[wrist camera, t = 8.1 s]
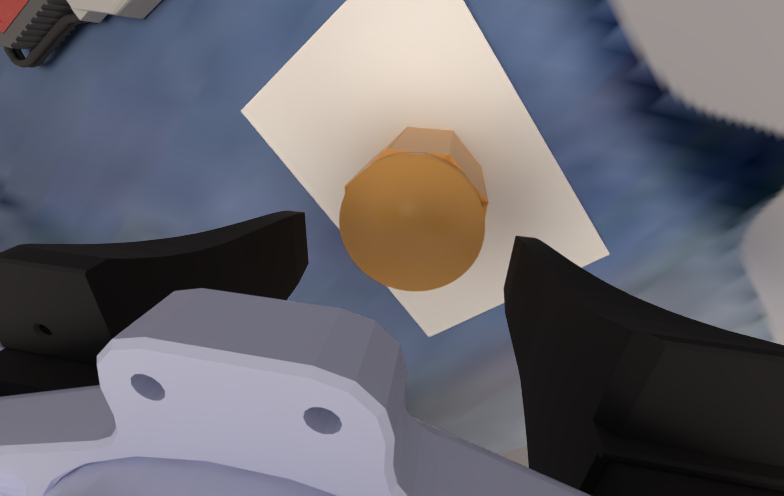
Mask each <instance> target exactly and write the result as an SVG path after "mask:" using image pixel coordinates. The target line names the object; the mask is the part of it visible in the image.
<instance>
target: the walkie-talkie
mask: <svg viewBox="0 0 784 496" xmlns="http://www.w3.org/2000/svg"><path fill="white" fill-rule="evenodd" d="M161 1H162V0H0V45H1V46H4V50H5V52H6V53H7V55H8V56H9V58H10V60H11V61H12V62H13V63H14V64H15V65H18V66H20V67H36V66H39V65H41V63H42V62H43V61H44V60H45V59H46V58H47V57H48V56H49V54H50V53H51V52H52V51H56V49H55V48H56V47H57V46H60V45H61V44H60V42H61V41H65V40H66V39H65V37H66V35H70V34H71V33H70V31H71V30H74V29H75V26H76V25H77V24H80V23H87V22H95V23H100V22H101V21H102V20H103V19H104V18H105V17H106V16H107V15H108V14H109V15H117V16H124V17H131V18H138V19H144V18H145V17H146V16H147V15H148V14H149V13H150V12H151V11H152V10H153V9H154V8H155V7H156V6H157V5H158V4H159V3H160V2H161ZM21 49H33V50H32V52H31V53H30V54H29V55H28V56H27V57H26V58H25V57H24V55H23V53H22V51H21Z"/></svg>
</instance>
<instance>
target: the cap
mask: <svg viewBox="0 0 784 496" xmlns="http://www.w3.org/2000/svg"><path fill="white" fill-rule="evenodd" d="M344 188H345V195H344V198H343V201H342V203H341V208H340V213H339V227H340V233H341V238H342V241H343V243H344V246H345V248H346V250H347V252H348V254H349V256H350V257H351V259H352V260H353V261H354V263H355V264H356V265H357V266H358V267H359V268H360V269H361V270H362V271H363V272H364V273H365V274H367V275H368V276H369V277H371V278H372V279H374V280H375V281H377V282H379V283H381V284H383V285H386V286H388V287H391V288H394V289H398V290H403V291H413V292H414V291H428V290H433V289H437V288H440V287H443V286H445V285H448V284H450V283H451V282H453V281H455V280H457V279H458V278H459V277H461V276H462V275H463V274H464V273H465V272H466V271H467V270H468V269H469V268H470V267H471V266H472V265H473V263H474V262H475V260H476V259H477V257H478V256H479V253H480V250H481V248H482V245H483V241H484V235H485V217H486V211H487V206H488V204H489V202H488V197H487V192H486V188H485V183H484V178H483V173H482V169H481V165H479V163H478V162H477V161H476V159H475V158H474V157H473V156H472V154H471V153H470V152H469V150H468V149H467V148H466V147H465V145H464V144H463V143H462V141H461V140H460V139H459V138H458V136H457V135H456V134H455V132H454V131H453V130H452V131H451V130H439V129H427V128H415V127H406V128H405V129H404V130H403V131H402V132H401V133H400V134H399V135H398V136H397V137H396V138H395V139H394V140H393V141H392V142H390V143H389V144H388V145H387V146H386V147H385V148H384V149H383V150H382V151H381V152H379V153H378V154H377V155H375V156H374V157H373V158H372V159H371V160H370V161H369V162H368V163H367V164H366V165H365V166H364V167H363V168H362V169H361V170H360V171H359V172H358V173H357V174H356V175H355V176H354V177H353V178H352V179H351V180H350V181H349V182H348V183H347V184H346V185H345V187H344Z"/></svg>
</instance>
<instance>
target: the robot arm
mask: <svg viewBox="0 0 784 496" xmlns="http://www.w3.org/2000/svg"><path fill="white" fill-rule="evenodd" d="M307 265H308V251H307V238H306V225H305V213H304V212H295V211H282V212H277V213H272V214H269V215H265V216H261V217H258V218H254V219H251V220H247V221H244V222H241V223H237V224H233V225H229V226H225V227H222V228H218V229H214V230H210V231H205V232H201V233H196V234H191V235H185V236H179V237H173V238H165V239H156V240H148V241H139V242H126V243H109V244H21V245H17V246H15V247H13V248H10V249H8V250H5V251H3V252H0V342H1V343H2V345H3V347H6V348H4V349H3V350H1V351H0V496H784V345H780V344H777V343H773V342H769V341H765V340H761V339H758V338H754V337H750V336H746V335H742V334H739V333H735V332H731V331H728V330H724V329H721V328H718V327H715V326H711V325H708V324H705V323H702V322H699V321H696V320H693V319H690V318H687V317H684V316H681V315H679V314H676V313H673V312H670V311H668V310H665V309H663V308H660V307H658V306H655V305H653V304H650V303H648V302H645V301H643V300H641V299H639V298H636V297H634V296H632V295H630V294H628V293H626V292H624V291H622V290H620V289H618V288H616V287H614V286H612V285H610V284H608V283H606V282H604V281H602V280H601V279H599V278H597V277H596V276H594V275H592V274H591V273H589V272H587V271H586V270H584V269H582V268H581V267H579V266H578V265H576V264H575V263H573V262H572V261H570V260H569V259H567V258H566V257H564V256H563V255H561V254H560V253H559V252H557V251H556V250H554V249H553V248H551V247H550V246H549V245H547V244H546V243H544V242H542V241H541V240H539V239H537V238H533V237H524V236H515V240H514V245H513V249H512V253H511V258H510V262H509V267H508V271H507V275H506V280H505V284H504V304H505V314H506V318H507V323H508V327H509V331H510V336H511V340H512V344H513V348H514V352H515V357H516V361H517V365H518V369H519V375H520V380H521V388H522V397H523V406H524V415H525V426H526V436H527V448H528V461H529V468H527V467H525V466H523V465H521V464H518V463H516V462H514V461H511V460H509V459H507V458H505V457H502V456H500V455H498V454H496V453H493V452H491V451H489V450H487V449H484V448H482V447H480V446H477V445H475V444H473V443H471V442H468V441H466V440H464V439H462V438H459V437H457V436H455V435H452V434H450V433H448V432H446V431H443V430H441V429H439V428H437V427H434V426H432V425H430V424H427V423H425V422H423V421H421V420H418V419H416V418H414V417H412V416H410V415H409V414H408V412H407V410H406V406H405V387H406V375H407V369H406V366H405V362H404V358H403V354H402V350H401V347H400V344H399V343H398V342H397V341H396V340H395V339H394V338H393V337H392V336H391V335H390V334H389V333H388V332H387V331H386V330H385V329H384V328H383V327H382V326H381V325H380V324H379V323H378V322H376V321H375V320H372V319H369V318H367V317H364V316H361V315H358V314H356V313H353V312H350V311H347V310H345V309H342V308H335V307H329V306H322V305H315V304H308V303H301V302H294V301H287V299H288V297H289V296H290V294H291V293H292V292H293V290H294V289H295V288H296V286H297V285H298V283H299V281H300V279H301V277H302V276H303V274H304V271H305V269H306V267H307Z"/></svg>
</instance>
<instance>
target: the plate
mask: <svg viewBox="0 0 784 496" xmlns="http://www.w3.org/2000/svg"><path fill="white" fill-rule="evenodd" d="M241 112H242V113H243V114H244V115H245V117H246V118H247V119H248V120H249V121H250V123H251V124H252V125H253V126H254V127H255V129H256V130H257V131H258V132H259V133H260V135H261V136H262V137H263V138H264V139H265V141H266V142H267V143H268V144H269V146H270V147H271V148H272V149H273V150H274V152H275V153H276V154H277V155H278V156H279V158H280V159H281V160H282V161H283V162H284V164H285V165H286V166H287V167H288V168H289V170H290V171H291V172H292V173H293V174H294V176H295V177H296V178H297V179H298V180H299V182H300V183H301V184H302V185H303V186H304V188H305V189H306V190H307V191H308V192H309V194H310V195H311V196H312V197H313V198H314V200H315V201H316V202H317V203H318V204H319V206H320V207H321V208H322V209H323V210H324V212H325V213H326V214H327V215H328V216H329V218H330V219H331V220H332V221H333V222H334V224H335V225H336V226H337V227H338V228H339V230H340V227H339V213H340V208H341V203H342V201H343V198H344V195H345V188H344V187H345V185H346V184H347V183H348V182H349V181H350V180H351V179H352V178H353V177H354V176H355V175H356V174H357V173H358V172H359V171H360V170H361V169H362V168H363V167H364V166H365V165H366V164H367V163H368V162H369V161H370V160H371V159H372V158H373V157H374V156H375V155H377V154H378V153H379V152H381V151H382V150H383V149H384V148H385V147H386V146H387V145H388V144H389V143H390V142H392V141H393V140H394V139H395V138H396V137H397V136H398V135H399V134H400V133H401V132H402V131H403V130H404V129H405V128H406V127H415V128H427V129H439V130H451V131H452V130H453V131H454V132H455V134H456V135H457V136H458V138H459V139H460V140H461V141H462V143H463V144H464V145H465V147H466V148H467V149H468V150H469V152H470V153H471V154H472V156H473V157H474V158H475V159H476V161H477V162H478V163H479V165H481V169H482V173H483V178H484V183H485V188H486V192H487V197H488V202H489V204H488V206H487V211H486V217H485V235H484V241H483V245H482V248H481V250H480V253H479V256H478V257H477V259H476V260H475V262H474V263H473V265H472V266H471V267H470V268H469V269H468V270H467V271H466V272H465V273H464V274H463V275H462V276H461V277H459V278H458V279H457V280H455V281H453V282H451V283H450V284H448V285H445V286H443V287H440V288H437V289H433V290H428V291H414V292H413V291H403V290H398V289H394V288H391V287H388V286H387V287H388V289H389V290H390V291H391V292H392V293H393V295H394V296H395V297H396V298H397V299H398V301H399V302H400V303H401V304H402V305H403V307H404V308H405V309H406V310H407V311H408V313H409V314H410V315H411V316H412V317H413V319H414V320H415V321H416V322H417V323H418V325H419V326H420V327H421V328H422V329H423V331H424V332H425V333H426V334H427V335H428V337H431V336H433V335H435V334H437V333H439V332H442V331H444V330H446V329H448V328H450V327H452V326H455V325H457V324H459V323H461V322H463V321H466V320H468V319H470V318H472V317H474V316H476V315H479V314H481V313H483V312H485V311H487V310H490V309H492V308H494V307H496V306H498V305H500V304H503V303H504V284H505V280H506V275H507V271H508V267H509V262H510V258H511V253H512V249H513V245H514V240H515V236H524V237H533V238H537V239H539V240H541V241H542V242H544V243H546V244H547V245H549V246H550V247H551V248H553V249H554V250H556V251H557V252H559V253H560V254H561V255H563V256H564V257H566V258H567V259H569V260H570V261H572V262H573V263H575V264H576V265H578V266H579V267H583V266H585V265H588V264H590V263H592V262H594V261H596V260H599V259H601V258H603V257H605V256H607V255H609V252H608V250H607V248H606V247H605V245H604V243H603V242H602V240H601V238H600V236H599V235H598V233H597V231H596V229H595V228H594V226H593V224H592V222H591V221H590V219H589V217H588V216H587V214H586V212H585V210H584V209H583V207H582V205H581V203H580V202H579V200H578V198H577V196H576V195H575V193H574V191H573V190H572V188H571V186H570V184H569V183H568V181H567V179H566V177H565V176H564V174H563V172H562V170H561V169H560V167H559V165H558V164H557V162H556V160H555V158H554V157H553V155H552V153H551V151H550V150H549V148H548V146H547V145H546V143H545V141H544V139H543V138H542V136H541V134H540V132H539V131H538V129H537V127H536V125H535V124H534V122H533V120H532V119H531V117H530V115H529V113H528V112H527V110H526V108H525V106H524V105H523V103H522V101H521V99H520V98H519V96H518V94H517V93H516V91H515V89H514V87H513V86H512V84H511V82H510V80H509V79H508V77H507V75H506V73H505V72H504V70H503V68H502V67H501V65H500V63H499V61H498V60H497V58H496V56H495V54H494V53H493V51H492V49H491V48H490V46H489V44H488V42H487V41H486V39H485V37H484V35H483V34H482V32H481V30H480V28H479V27H478V25H477V23H476V22H475V20H474V18H473V16H472V15H471V13H470V11H469V9H468V8H467V6H466V4H465V2H464V1H463V0H346V2H345V3H344V4H343V5H342V6H341V7H340V8H339V9H338V10H337V11H336V12H335V13H334V14H333V15H332V16H331V17H330V18H329V19H328V20H327V21H326V22H325V23H324V25H323V26H322V27H321V28H320V29H319V30H318V31H317V32H316V33H315V34H314V35H313V36H312V37H311V38H310V39H309V40H308V41H307V42H306V43H305V44H304V45H303V46H302V48H301V49H300V50H299V51H298V52H297V53H296V54H295V55H294V56H293V57H292V58H291V59H290V60H289V61H288V62H287V63H286V64H285V65H284V66H283V67H282V68H281V69H280V71H279V72H278V73H277V74H276V75H275V76H274V77H273V78H272V79H271V80H270V81H269V82H268V83H267V84H266V85H265V86H264V87H263V88H262V89H261V90H260V91H259V92H258V94H257V95H256V96H255V97H254V98H253V99H252V100H251V101H250V102H249V103H248V104H247V105H246V106H245V107H244V108H243V109H242V110H241Z"/></svg>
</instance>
